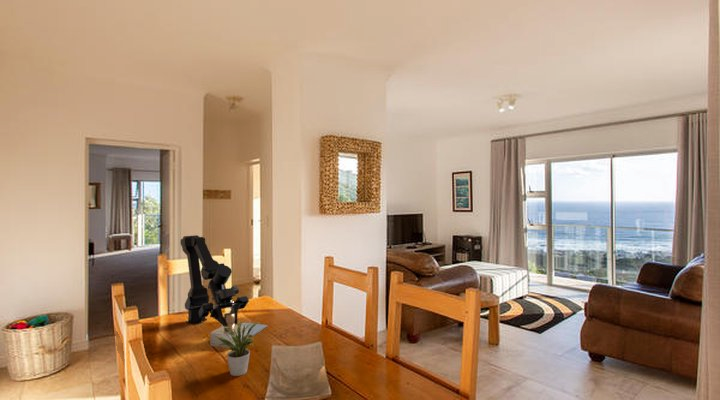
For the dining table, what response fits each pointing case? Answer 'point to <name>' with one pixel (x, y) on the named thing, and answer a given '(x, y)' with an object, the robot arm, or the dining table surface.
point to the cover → (226, 331)
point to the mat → (254, 328)
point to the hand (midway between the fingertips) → (231, 325)
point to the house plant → (238, 350)
